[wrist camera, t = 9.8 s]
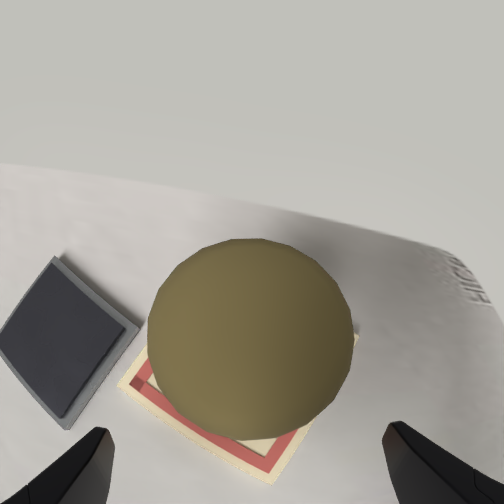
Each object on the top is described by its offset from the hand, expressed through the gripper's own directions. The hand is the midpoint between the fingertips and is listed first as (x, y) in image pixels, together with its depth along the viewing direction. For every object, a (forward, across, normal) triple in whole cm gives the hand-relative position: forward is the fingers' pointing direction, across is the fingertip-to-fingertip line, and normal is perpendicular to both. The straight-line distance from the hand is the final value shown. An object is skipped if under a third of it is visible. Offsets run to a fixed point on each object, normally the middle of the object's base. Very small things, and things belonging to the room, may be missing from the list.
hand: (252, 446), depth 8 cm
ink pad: (+8, +11, +2) cm, 14 cm away
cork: (+8, 0, +3) cm, 8 cm away
